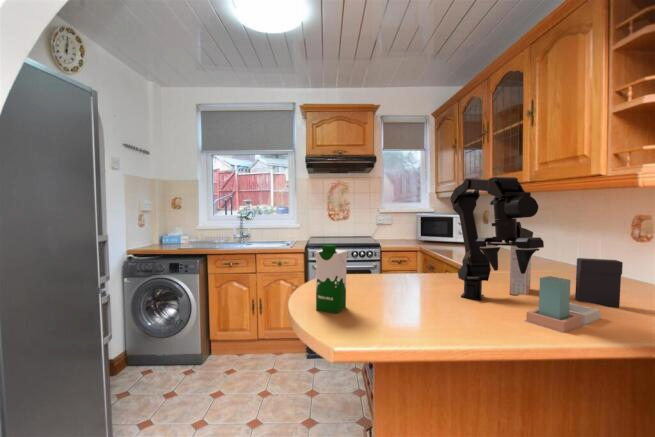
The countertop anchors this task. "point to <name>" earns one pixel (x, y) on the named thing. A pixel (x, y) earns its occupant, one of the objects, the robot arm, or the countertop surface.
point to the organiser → (576, 319)
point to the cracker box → (518, 275)
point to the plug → (554, 297)
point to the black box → (598, 281)
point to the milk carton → (330, 279)
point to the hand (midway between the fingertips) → (508, 272)
